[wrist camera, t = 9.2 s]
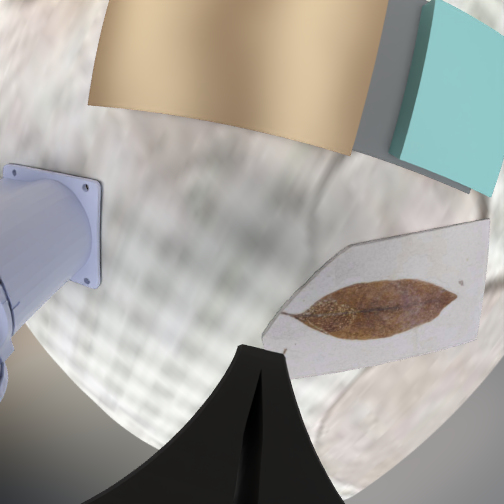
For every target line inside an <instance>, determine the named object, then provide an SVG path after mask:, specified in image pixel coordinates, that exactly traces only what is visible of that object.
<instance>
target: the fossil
mask: <svg viewBox="0 0 504 504" xmlns="http://www.w3.org/2000/svg"><path fill="white" fill-rule="evenodd" d="M489 233H490V219H489V218H486V219H481V220H476V221H471V222H466V223H461V224H455V225H451V226H446V227H440V228H435V229H430V230H425V231H420V232H415V233H409V234H404V235H399V236H394V237H389V238H383V239H378V240H373V241H368V242H363V243H359V244H354V245H349V246H347V247H346V248H344V249H342V250H341V251H339V252H338V253H337V254H336V255H335V256H334V257H333V258H331V259H330V260H329V261H328V262H327V263H325V264H324V265H323V266H322V267H321V268H320V269H319V270H318V271H316V272H315V273H314V275H313V276H312V277H311V278H310V279H309V280H308V281H307V282H306V284H305V285H303V286H302V287H301V288H299V289H298V290H297V291H295V293H294V294H293V295H292V296H291V297H290V299H289V300H287V301H286V302H285V303H284V305H283V306H282V307H281V309H280V310H279V311H278V312H277V314H276V315H275V316H274V318H273V319H272V320H271V321H270V323H269V324H268V326H267V328H266V329H265V331H264V332H263V334H262V342H263V345H264V348H265V350H269V351H273V352H277V353H282V354H284V356H285V357H286V363H287V368H288V372H289V377H290V379H297V378H304V377H310V376H318V375H324V374H331V373H337V372H343V371H348V370H353V369H359V368H364V367H370V366H376V365H380V364H384V363H388V362H393V361H398V360H403V359H406V358H410V357H415V356H420V355H425V354H428V353H432V352H436V351H440V350H444V349H447V348H450V347H454V346H458V345H461V344H464V343H467V342H471V341H474V340H476V338H477V333H478V328H479V322H480V315H481V309H482V302H483V295H484V289H485V280H486V270H487V262H488V250H489Z"/></svg>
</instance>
